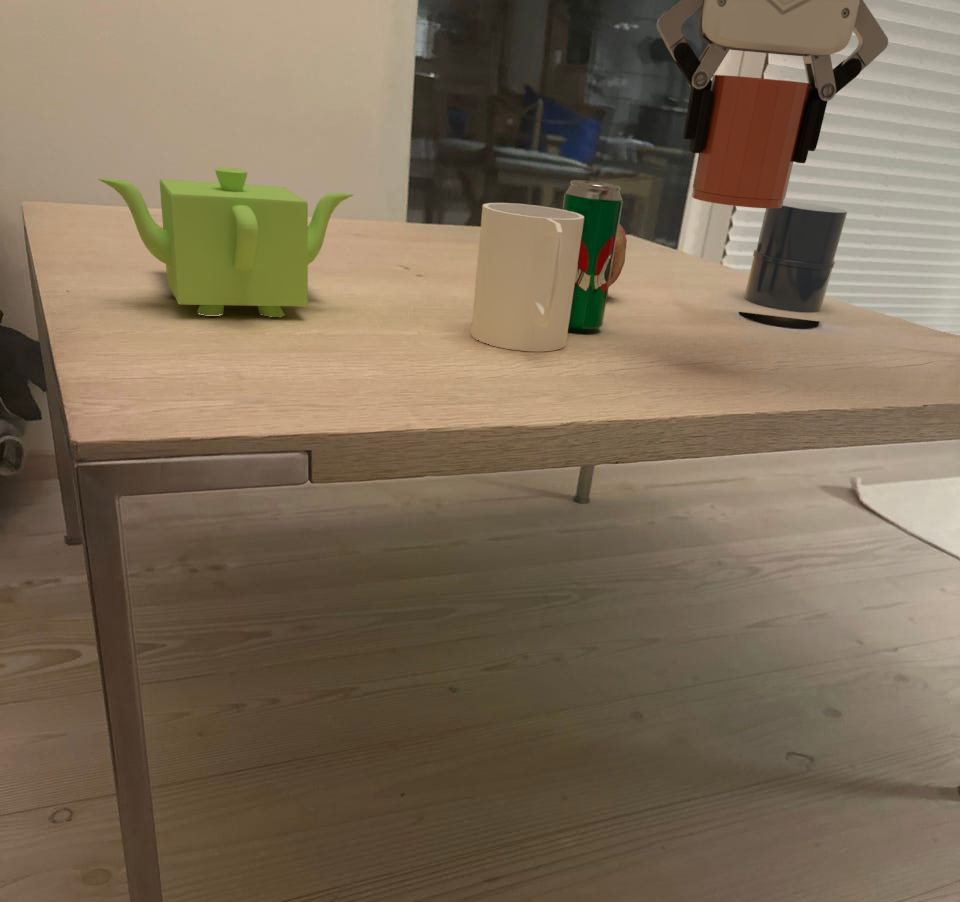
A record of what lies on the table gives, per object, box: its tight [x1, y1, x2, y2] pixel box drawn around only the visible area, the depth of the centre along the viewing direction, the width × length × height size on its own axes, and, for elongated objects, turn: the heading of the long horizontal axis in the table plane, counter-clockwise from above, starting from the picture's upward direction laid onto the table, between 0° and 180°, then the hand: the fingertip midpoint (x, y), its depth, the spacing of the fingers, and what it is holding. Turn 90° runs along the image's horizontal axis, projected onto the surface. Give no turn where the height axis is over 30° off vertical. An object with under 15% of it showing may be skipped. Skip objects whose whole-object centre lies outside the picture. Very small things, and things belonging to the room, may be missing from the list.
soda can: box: [562, 179, 624, 334], centre depth 82 cm, size 5×5×12 cm
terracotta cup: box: [691, 74, 811, 209], centre depth 68 cm, size 7×7×8 cm
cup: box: [470, 202, 584, 353], centre depth 75 cm, size 8×12×10 cm
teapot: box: [97, 167, 354, 318], centre depth 76 cm, size 15×13×11 cm
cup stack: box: [738, 200, 848, 330], centre depth 95 cm, size 8×8×11 cm
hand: (746, 154), depth 69 cm, fingers closed on terracotta cup, 6 cm apart
